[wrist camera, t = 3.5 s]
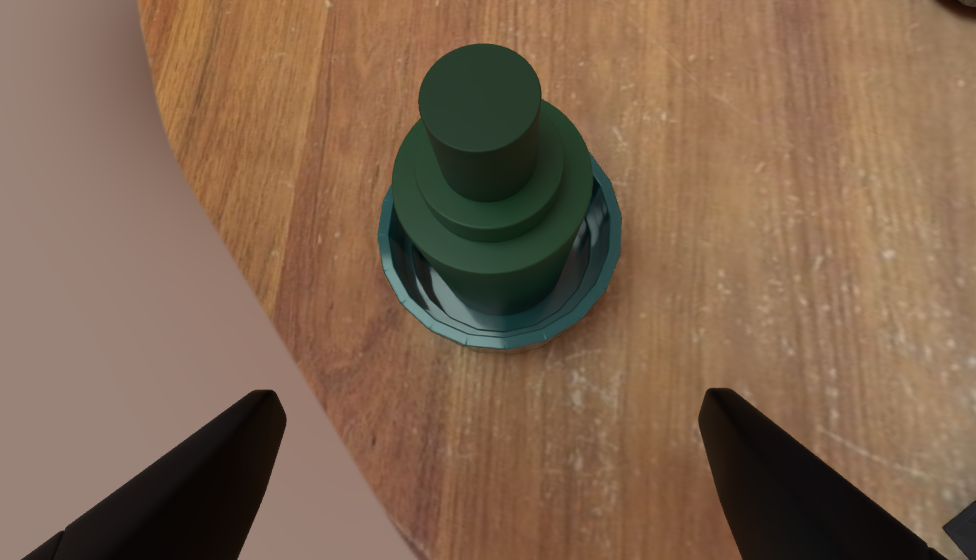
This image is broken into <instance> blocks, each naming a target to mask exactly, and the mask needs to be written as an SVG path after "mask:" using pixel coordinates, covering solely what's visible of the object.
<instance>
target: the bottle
mask: <svg viewBox="0 0 976 560" xmlns="http://www.w3.org/2000/svg"><path fill="white" fill-rule="evenodd" d="M418 104H419V112H420V116H421V118H420V119H419V120H418V122H417V123H416V124H415V125H414V126H413V127H412V128H411V130H410V131H409V133H408V134H407V135H406V137H405V139H404V141H403V142H402V144H401V146H400V148H399V151H398V154H397V156H396V159H395V163H394V168H393V173H392V197H393V202H394V207H395V210H396V213H397V216H398V219H399V221H400V223H401V225H402V227H403V228H404V230H405V232H406V233H407V234H408V236H409V237H410V239H411V240H412V241H413V243H414V244H415V245H416V246H417V248H418V249H419V250H420V252H421V253H422V254H423V255H424V257H425V258H426V259H427V260H428V262H429V263H430V264H431V266H432V267H433V268H434V269H435V271H436V272H437V273H438V274H439V276H440V277H441V278H442V280H443V281H444V282H445V283H446V285H447V286H448V287H449V288H450V290H451V291H452V292H453V293H454V295H455V296H456V297H457V298H458V299H459V300H460V301H462V302H463V303H464V304H465V305H467V306H469V307H470V308H472V309H474V310H476V311H479V312H482V313H485V314H489V315H496V316H506V315H514V314H518V313H521V312H524V311H527V310H529V309H531V308H533V307H534V306H536V305H537V304H539V303H540V302H542V301H543V300H544V299H545V298H546V297H547V296H548V295H549V294H550V293H551V291H552V290H553V289H554V287H555V285H556V284H557V282H558V280H559V277H560V275H561V273H562V270H563V268H564V265H565V263H566V261H567V258H568V256H569V253H570V251H571V248H572V246H573V244H574V241H575V239H576V236H577V234H578V231H579V229H580V226H581V224H582V222H583V219H584V217H585V214H586V212H587V209H588V206H589V203H590V199H591V195H592V187H593V170H592V164H591V158H590V155H589V152H588V149H587V146H586V144H585V142H584V140H583V138H582V136H581V135H580V133H579V132H578V130H577V129H576V127H575V126H574V124H573V123H572V122H571V121H570V120H569V119H568V118H567V116H565V115H564V114H563V113H562V112H561V111H560V110H558V109H557V108H556V107H554V106H553V105H551V104H550V103H548V102H547V101H545V100H543V99H541V86H540V82H539V79H538V77H537V75H536V73H535V71H534V69H533V68H532V66H531V65H530V64H529V63H528V62H527V61H526V60H525V59H524V58H523V57H522V56H521V55H519V54H518V53H516V52H514V51H512V50H510V49H508V48H506V47H503V46H499V45H494V44H472V45H467V46H463V47H460V48H458V49H455V50H453V51H451V52H449V53H447V54H446V55H444V56H443V57H441V58H440V59H439V60H438V61H437V62H436V63H435V64H434V65H433V66H432V67H431V68H430V70H429V71H428V72H427V74H426V76H425V78H424V79H423V82H422V85H421V87H420V92H419V100H418Z"/></svg>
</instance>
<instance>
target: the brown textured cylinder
mask: <svg viewBox="0 0 976 560" xmlns="http://www.w3.org/2000/svg"><path fill="white" fill-rule="evenodd" d="M957 1H959V2H961V3H962V4H964V5H967V6H971V7H976V0H957Z"/></svg>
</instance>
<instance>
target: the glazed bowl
mask: <svg viewBox="0 0 976 560" xmlns="http://www.w3.org/2000/svg"><path fill="white" fill-rule="evenodd" d="M588 152H589V151H588ZM589 155H590V158H591V164H592V170H593V187H592V195H591V199H590V203H589V206H588V209H587V212H586V214H585V217H584V219H583V222H582V224H581V226H580V229H579V231H578V234H577V236H576V239H575V241H574V244H573V246H572V248H571V251H570V253H569V256H568V258H567V261H566V263H565V265H564V268H563V270H562V273H561V275H560V277H559V280H558V282H557V284H556V285H555V287H554V289H553V290H552V291H551V293H550V294H549V295H548V296H547V297H546V298H545V299H544V300H543V301H542V302H540V303H539V304H537V305H536V306H534V307H533V308H531V309H529V310H527V311H524V312H521V313H518V314H514V315H506V316H496V315H489V314H485V313H482V312H479V311H476V310H474V309H472V308H470V307H469V306H467V305H465V304H464V303H463V302H462V301H460V300H459V299H458V298H457V297H456V296H455V295H454V293H453V292H452V291H451V290H450V288H449V287H448V286H447V285H446V283H445V282H444V281H443V280H442V278H441V277H440V276H439V274H438V273H437V272H436V271H435V269H434V268H433V267H432V266H431V264H430V263H429V262H428V260H427V259H426V258H425V257H424V255H423V254H422V253H421V252H420V250H419V249H418V248H417V246H416V245H415V244H414V243H413V241H412V240H411V239H410V237H409V236H408V234H407V233H406V232H405V230H404V228H403V227H402V225H401V223H400V221H399V219H398V216H397V213H396V210H395V207H394V202H393V197H392V184H391V186H390V188H389V190H388V192H387V194H386V196H385V198H384V200H383V203H382V209H381V216H380V222H379V228H378V243H379V249H380V255H381V261H382V267H383V271H384V274H385V276H386V278H387V279H388V281H389V283H390V285H391V287H392V289H393V290H394V292H395V294H396V296H397V298H398V300H399V302H400V303H401V304H402V306H403V307H405V308H406V309H407V310H408V311H409V312H410V313H411V314H412V315H413V316H414V317H415V318H417V319H418V320H419V321H420V322H421V323H422V324H423V325H424V326H425V327H426V328H427V329H429V330H430V331H432V332H434V333H436V334H438V335H440V336H442V337H444V338H446V339H447V340H450V341H452V342H454V343H456V344H459V345H461V346H463V347H466V348H468V349H470V350H472V351H475V352H480V353H491V354H501V355H508V354H509V355H512V354H516V353H521V352H525V351H529V350H534V349H538V348H540V347H543V346H545V345H546V344H548V343H550V342H551V341H553V340H555V339H556V338H558V337H560V336H561V335H563V334H565V333H566V332H568V331H569V330H570V329H571V328H572V327H573V326H575V325H576V324H577V323H578V322H579V321H580V320H581V319H582V318H583V317H584V316H585V314H586V313H587V312H588V311H589V310H590V309H591V307H592V306H593V305H594V304H595V303H596V302H597V300H598V299H599V298H600V297H601V296H602V294H603V293H604V292H605V291H606V289H607V287H608V285H609V282H610V279H611V277H612V274H613V272H614V269H615V267H616V264H617V261H618V259H619V256H620V252H621V224H622V217H621V212H620V209H619V206H618V203H617V199H616V196H615V193H614V190H613V187H612V183H611V182H610V180H609V178H608V177H607V175H606V174H605V173H604V171H603V170H602V169H601V167H600V166H599V164H598V163H597V162H596V160H595V159H594V157H593V156H592V155H591V153H589Z"/></svg>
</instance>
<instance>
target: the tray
mask: <svg viewBox="0 0 976 560" xmlns="http://www.w3.org/2000/svg"><path fill="white" fill-rule="evenodd" d="M943 529H944V530H945V531H946V532H947V534H948V535H949V536H950V537H951V538H952V539H953V541H954V542H955V543H956V544H957V545H958V546H959V547H960V549H961V550H962V551H963V552H964V553H965V554H966V556H967V557H968V558H969V559H970V560H976V502H975V503H973V504H972V505H971V506H970V507H968V508H967V509H966V510H965V511H963V512H962V513H961V514H960V515H958V516H957V517H956V518H955V519H953V520H952V521H951V522H950V523H948V524H947V525H946V526H945V527H943Z"/></svg>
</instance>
